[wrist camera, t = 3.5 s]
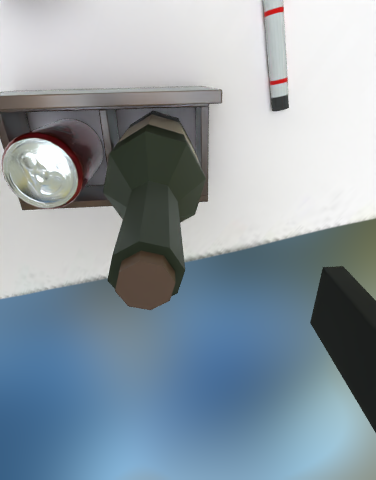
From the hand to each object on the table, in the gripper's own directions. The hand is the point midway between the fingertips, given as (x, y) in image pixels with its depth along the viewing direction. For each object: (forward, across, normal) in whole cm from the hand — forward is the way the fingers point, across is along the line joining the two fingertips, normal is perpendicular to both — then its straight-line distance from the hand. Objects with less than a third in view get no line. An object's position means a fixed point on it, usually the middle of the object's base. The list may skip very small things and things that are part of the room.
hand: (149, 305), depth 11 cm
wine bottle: (+31, 0, 0) cm, 31 cm away
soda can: (+31, -11, 0) cm, 33 cm away
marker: (+31, +13, +12) cm, 36 cm away
